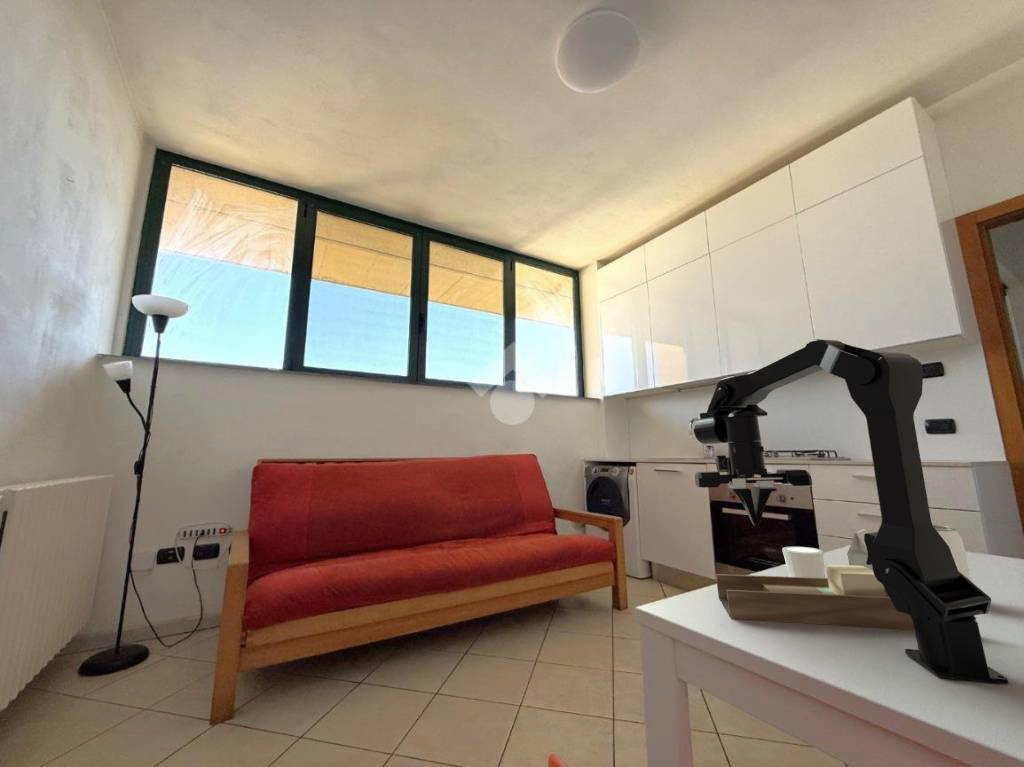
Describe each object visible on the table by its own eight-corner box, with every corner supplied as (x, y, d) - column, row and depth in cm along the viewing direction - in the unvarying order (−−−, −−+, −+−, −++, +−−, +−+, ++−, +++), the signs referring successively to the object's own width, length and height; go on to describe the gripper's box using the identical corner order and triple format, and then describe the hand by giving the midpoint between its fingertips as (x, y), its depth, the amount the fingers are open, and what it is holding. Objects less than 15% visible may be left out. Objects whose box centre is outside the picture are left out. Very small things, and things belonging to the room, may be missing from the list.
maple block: (887, 602, 63) (881, 574, 64) (845, 600, 65) (840, 573, 65) (867, 591, 68) (862, 565, 69) (829, 589, 70) (825, 564, 70)
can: (976, 608, 67) (958, 531, 69) (921, 599, 72) (906, 527, 74) (978, 598, 71) (961, 526, 73) (925, 590, 76) (911, 523, 78)
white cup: (815, 581, 83) (809, 545, 85) (838, 592, 77) (831, 552, 78) (780, 581, 84) (775, 546, 85) (800, 592, 77) (794, 553, 79)
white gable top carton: (852, 585, 80) (843, 532, 82) (863, 578, 84) (854, 527, 86) (877, 589, 77) (866, 534, 79) (886, 582, 81) (876, 529, 83)
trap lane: (965, 633, 58) (958, 601, 59) (730, 618, 66) (727, 590, 67) (919, 608, 68) (913, 581, 68) (718, 598, 76) (715, 574, 77)
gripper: (784, 440, 84) (797, 519, 81) (687, 445, 89) (696, 519, 86) (805, 438, 74) (821, 529, 71) (694, 443, 79) (704, 528, 76)
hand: (756, 525), depth 76 cm, fingers closed
